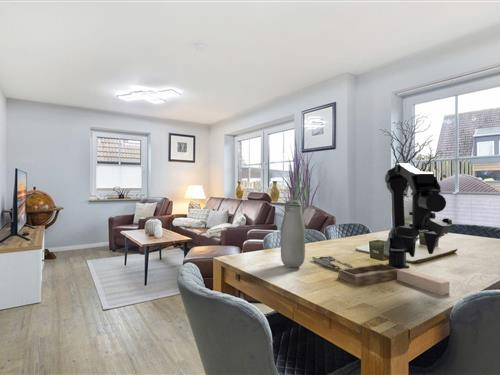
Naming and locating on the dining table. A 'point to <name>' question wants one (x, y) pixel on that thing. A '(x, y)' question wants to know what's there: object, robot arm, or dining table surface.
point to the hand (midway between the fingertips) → (421, 255)
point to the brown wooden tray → (368, 274)
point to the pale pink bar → (423, 281)
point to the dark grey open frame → (327, 261)
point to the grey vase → (293, 235)
